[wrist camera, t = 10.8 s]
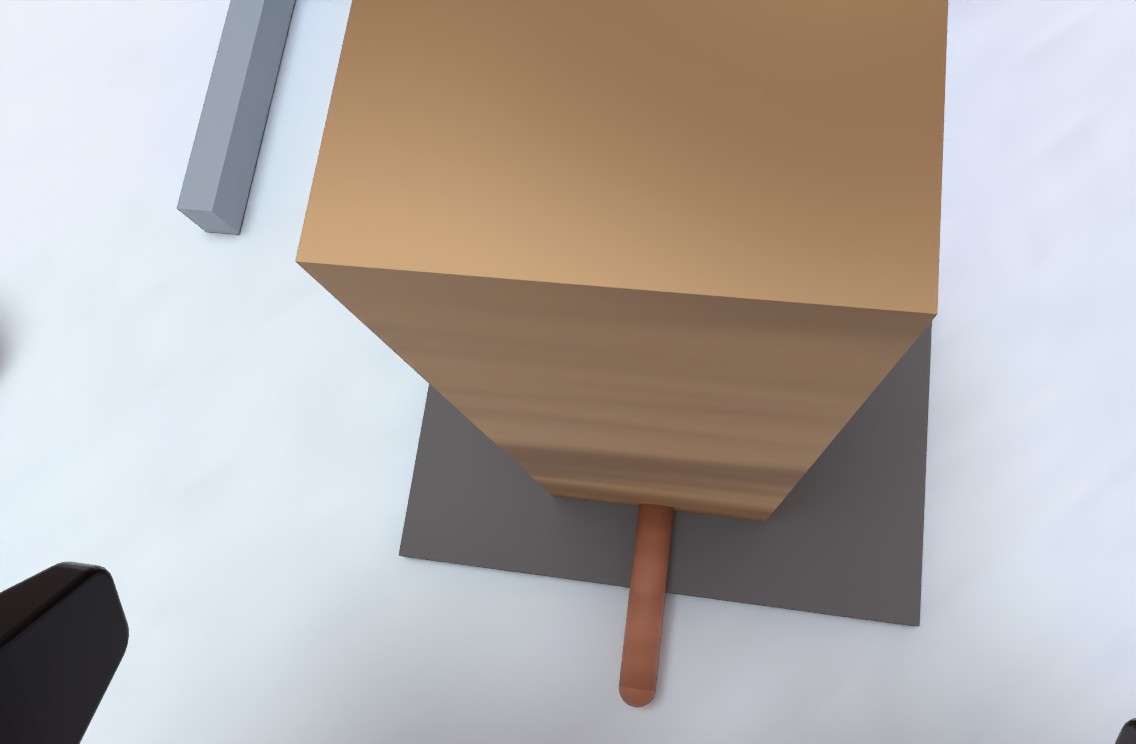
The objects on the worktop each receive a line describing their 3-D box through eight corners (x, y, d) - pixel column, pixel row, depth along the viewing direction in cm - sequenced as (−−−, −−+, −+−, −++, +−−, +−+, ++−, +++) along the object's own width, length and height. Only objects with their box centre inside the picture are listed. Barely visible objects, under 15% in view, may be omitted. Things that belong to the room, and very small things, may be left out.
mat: (915, 625, 20) (919, 626, 20) (403, 556, 22) (398, 555, 22) (928, 310, 22) (932, 304, 22) (454, 270, 24) (450, 264, 24)
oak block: (749, 722, 20) (913, 992, 6) (527, 688, 21) (167, 849, 6) (781, 316, 22) (955, -234, 8) (579, 299, 23) (402, -230, 9)
